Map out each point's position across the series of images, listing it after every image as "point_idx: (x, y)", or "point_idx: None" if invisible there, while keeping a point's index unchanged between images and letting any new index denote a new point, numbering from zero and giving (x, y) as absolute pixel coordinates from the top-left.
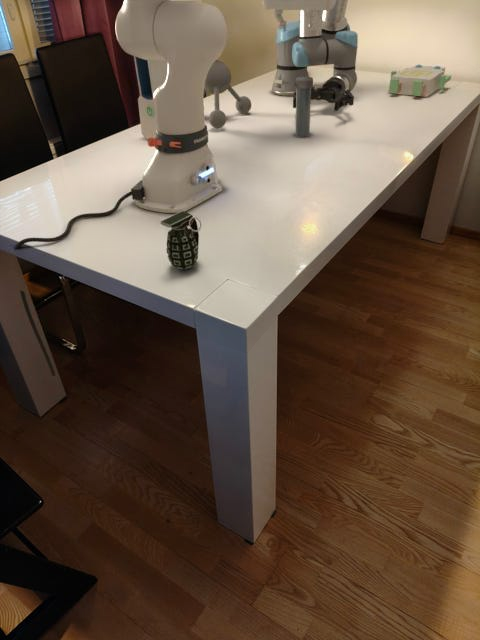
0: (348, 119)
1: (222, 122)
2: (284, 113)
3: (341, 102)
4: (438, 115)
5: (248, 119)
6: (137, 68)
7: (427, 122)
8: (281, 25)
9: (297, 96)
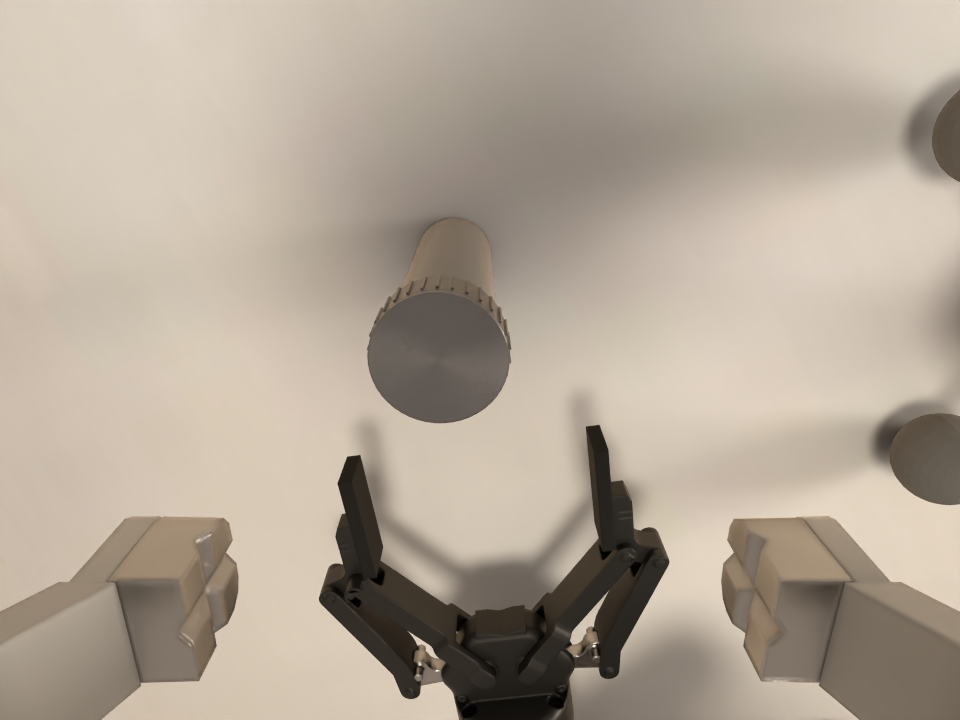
0: None
1: (947, 110)
2: (703, 514)
3: (348, 524)
4: None
5: (849, 365)
6: None
7: None
8: (792, 543)
9: (469, 276)
